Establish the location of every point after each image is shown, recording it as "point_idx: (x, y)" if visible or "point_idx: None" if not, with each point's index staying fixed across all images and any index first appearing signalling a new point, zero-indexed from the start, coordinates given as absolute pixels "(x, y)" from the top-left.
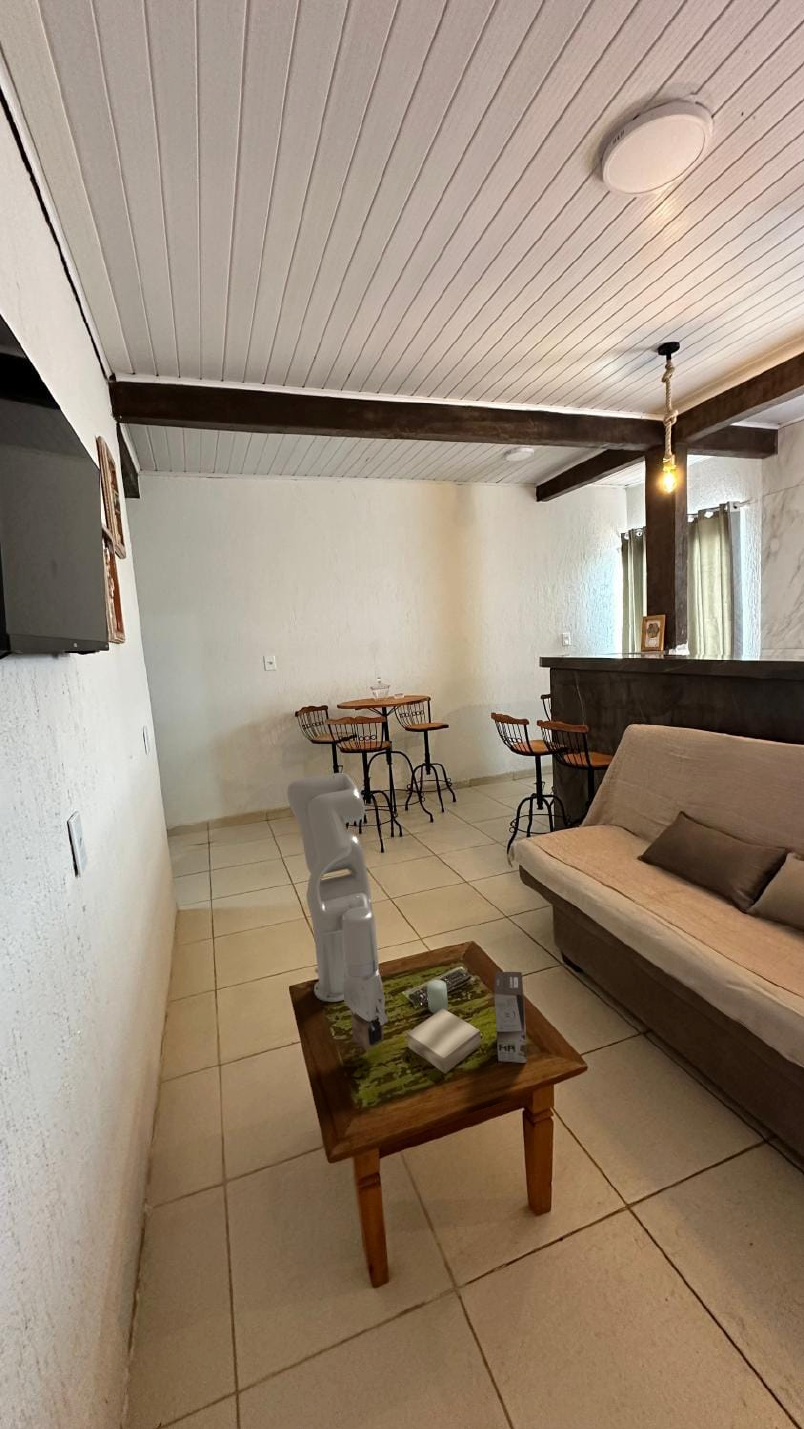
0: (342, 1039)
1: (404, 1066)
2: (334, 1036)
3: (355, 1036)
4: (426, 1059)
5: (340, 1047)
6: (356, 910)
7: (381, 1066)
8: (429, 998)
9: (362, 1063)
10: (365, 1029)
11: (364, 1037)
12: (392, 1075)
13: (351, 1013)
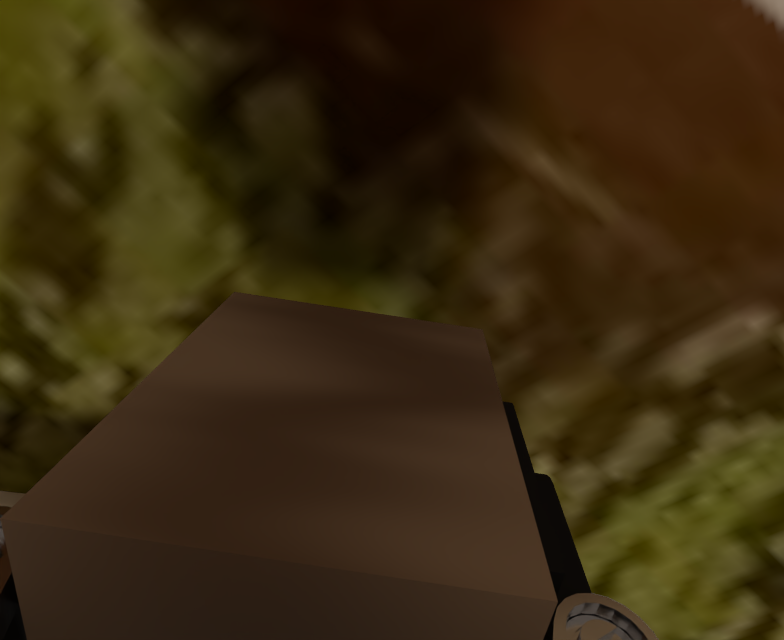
0: (678, 336)
1: (69, 386)
2: (769, 325)
3: (432, 350)
4: (13, 497)
5: (636, 263)
6: None
7: (191, 298)
8: None
9: (338, 236)
10: (66, 471)
11: (189, 367)
12: (53, 277)
13: (647, 627)
